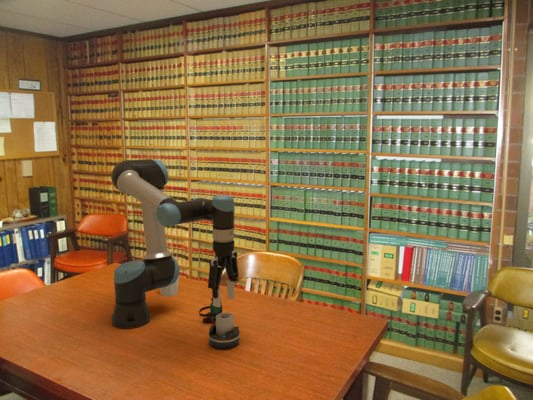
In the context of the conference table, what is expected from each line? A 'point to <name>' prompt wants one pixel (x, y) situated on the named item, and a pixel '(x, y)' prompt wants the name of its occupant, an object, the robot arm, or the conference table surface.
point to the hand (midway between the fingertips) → (224, 302)
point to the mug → (170, 289)
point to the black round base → (224, 339)
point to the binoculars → (211, 312)
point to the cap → (224, 323)
